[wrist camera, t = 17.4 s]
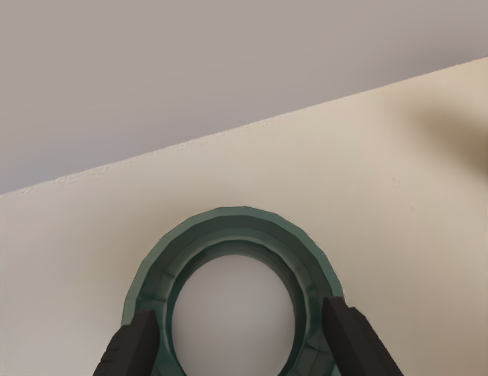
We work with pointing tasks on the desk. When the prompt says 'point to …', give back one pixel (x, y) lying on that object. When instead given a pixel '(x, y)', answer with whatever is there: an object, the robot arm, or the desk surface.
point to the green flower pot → (245, 244)
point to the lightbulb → (233, 320)
